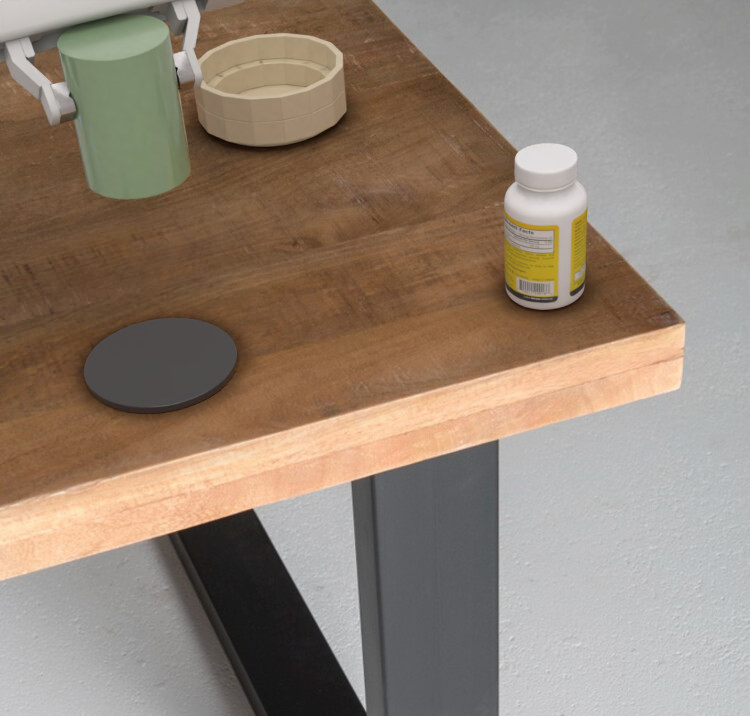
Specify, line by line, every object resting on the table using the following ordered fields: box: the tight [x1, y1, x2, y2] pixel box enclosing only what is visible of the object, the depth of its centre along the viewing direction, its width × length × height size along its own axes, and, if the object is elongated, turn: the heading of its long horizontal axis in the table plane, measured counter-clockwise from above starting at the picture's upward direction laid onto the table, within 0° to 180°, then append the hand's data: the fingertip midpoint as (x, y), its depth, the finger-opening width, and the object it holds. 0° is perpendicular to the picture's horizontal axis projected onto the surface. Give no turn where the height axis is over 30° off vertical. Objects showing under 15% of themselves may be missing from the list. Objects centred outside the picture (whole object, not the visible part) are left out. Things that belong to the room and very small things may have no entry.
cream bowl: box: [193, 32, 348, 148], centre depth 116 cm, size 12×12×4 cm
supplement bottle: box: [503, 142, 589, 311], centre depth 92 cm, size 5×5×10 cm
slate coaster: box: [83, 317, 239, 414], centre depth 92 cm, size 10×10×1 cm
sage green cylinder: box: [56, 14, 192, 200], centre depth 83 cm, size 6×6×8 cm
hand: (128, 102), depth 82 cm, fingers closed on sage green cylinder, 6 cm apart
